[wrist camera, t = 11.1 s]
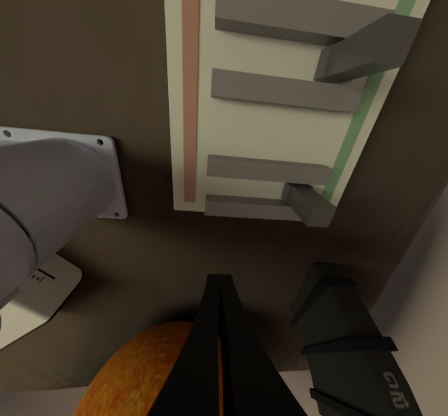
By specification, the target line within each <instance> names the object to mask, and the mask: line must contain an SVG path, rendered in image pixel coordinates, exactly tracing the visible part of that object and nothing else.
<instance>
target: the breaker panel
mask: <svg viewBox="0 0 448 416" xmlns="http://www.w3.org/2000/svg"><path fill="white" fill-rule="evenodd" d="M164 1H165V23H166V45H167V67H168V89H169V111H170V133H171V156H172V178H173V200H174V210H183V211H200V212H205V215H208V216H224V217H241V218H258V219H274V220H291V221H302V220H301V219H300V218H299V217H298V215H297V214H296V213H295V212H294V210H293V209H292V208H291V207H290V205H289V204H288V203H285V202H284V201H283V199H282V198H281V195H282V191H283V188H284V184H285V182H286V183H299V184H309V185H310V186H312V187H313V190H315V191H316V192H317V193H319V194H320V195H321V196H323V197H324V198H325V199H327V200H328V201H329V202H331V203H332V204H333V205H334V206H336V207H337V205H338V202H339V200H340V198H341V196H342V194H343V191H344V189H345V187H346V185H347V183H348V180H349V178H350V176H351V174H352V172H353V169H354V167H355V165H356V163H357V161H358V158H359V156H360V154H361V152H362V150H363V147H364V145H365V143H366V141H367V139H368V136H369V134H370V132H371V130H372V128H373V125H374V123H375V121H376V119H377V117H378V114H379V112H380V110H381V108H382V106H383V103H384V101H385V99H386V97H387V95H388V93H389V90H390V88H391V86H392V84H393V82H394V79H395V77H396V75H397V73H398V71H399V68H396V69H392V70H388V71H384V72H380V73H376V74H372V75H368V76H364V77H360V78H356V79H353V80H352V81H349V82H345V83H341V84H338V83H331V82H323V81H316V80H313V79H314V75H315V72H316V68H317V64H318V61H319V57H320V53H321V50H323V49H324V48H326V47H327V46H329V45H331V44H336V43H338V42H340V41H342V40H343V39H345V38H347V37H348V36H350V35H352V34H353V33H355V32H357V31H359V30H360V29H362V28H364V27H365V26H367V25H369V24H371V23H372V22H374V21H376V20H377V19H379V18H381V17H382V16H384V15H386V14H388V13H393V14H399V15H405V16H410V17H416V18H423V16H424V13H425V11H426V9H427V7H428V5H429V2H430V0H164Z"/></svg>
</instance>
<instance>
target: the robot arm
mask: <svg viewBox="0 0 448 416" xmlns="http://www.w3.org/2000/svg"><path fill="white" fill-rule="evenodd" d="M9 132H10V134H11V135H10V134H9ZM100 139H101V140H102V141H103V145H102V144H101V143H100V142H99V140H100ZM116 213H118V214H119V215H117V214H116ZM127 216H128V210H127V205H126V200H125V194H124V189H123V184H122V179H121V173H120V168H119V163H118V157H117V152H116V147H115V142H114V140H113V139H112V138H111V137H109V136H103V135H92V134H81V133H71V132H60V131H50V130H39V129H28V128H18V127H7V126H0V310H1V309H2V308H3V307H4V306H5V305H6V304H8V303H9V302H10V301H11V300H12V299H13V298H14V297H15V296H16V295H17V294H19V293H20V284H21V283H22V282H23V281H24V280H25V279H27V278H28V277H29V276H30V275H31V274H32V273H33V272H35V271H36V270H37V269H38V268H39V267H40V266H41V265H43V264H44V263H45V262H46V261H47V260H48V259H49V258H51V257H52V256H53V255H54V254H55V253H56V252H58V251H59V250H60V249H61V248H62V247H63V246H64V245H66V244H67V243H68V242H69V241H70V240H71V239H73V238H74V237H75V236H76V235H77V234H78V233H79V232H81V231H82V230H83V229H84V228H85V227H86V226H88V225H89V224H90V223H91V222H92V221H93V220H94V219H96V218H114V219H125V218H126V217H127ZM218 325H219V337H220V349H221V360H222V387H223V416H307V414H306V413H305V412H304V410H303V408H302V407H301V406H300V404H299V403H298V401H297V400H296V398H295V397H294V396H293V394H292V393H291V391H290V390H289V388H288V386H287V385H286V383H285V382H284V380H283V379H282V377H281V376H280V374H279V373H278V371H277V370H276V368H275V366H274V365H273V363H272V361H271V360H270V358H269V357H268V355H267V353H266V351H265V350H264V348H263V346H262V344H261V343H260V341H259V339H258V337H257V335H256V333H255V331H254V329H253V327H252V325H251V324H250V322H249V319H248V317H247V315H246V313H245V311H244V308H243V306H242V304H241V302H240V299H239V297H238V294H237V291H236V288H235V286H234V282H233V279H232V276H231V275H230V274H209V275H207V282H206V286H205V290H204V294H203V297H202V300H201V303H200V306H199V309H198V312H197V315H196V317H195V320H194V322H193V324H192V327H191V329H190V332H189V334H188V336H187V339H186V341H185V343H184V345H183V347H182V349H181V351H180V354H179V356H178V358H177V360H176V362H175V363H174V365H173V367H172V369H171V371H170V373H169V375H168V377H167V379H166V381H165V383H164V385H163V386H162V388H161V390H160V392H159V393H158V395H157V397H156V399H155V401H154V402H153V404H152V406H151V408H150V409H149V411H148V413H147V415H146V416H220V407H219V374H218ZM0 330H1V315H0Z"/></svg>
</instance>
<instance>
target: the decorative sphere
mask: <svg viewBox="0 0 448 416" xmlns="http://www.w3.org/2000/svg"><path fill="white" fill-rule="evenodd" d="M192 324H193V323H192V322H187V321H171V322H165V323H161V324H158V325H155V326H153V327H150V328H148V329H146V330H144V331H143V332H141V333H139V334H137V335H136V336H135V337H133V338H132V339H130V340H129V341H128V342H126V343H125V344H124V345H123V346H122V347H121V348H120V349H119V350H118V351H117V352H115V353H114V354H113V355H112V357H111V358H110V359H109V360H108V361H107V362H106V363H105V365H104V366H103V367H102V368H101V370H100V371H99V372H98V374H97V375H96V376H95V378H94V379H93V381H92V382H91V384H90V385H89V387H88V388H87V390H86V392H85V393H84V395H83V397H82V399H81V401H80V403H79V404H78V407H77V408H76V410H75V413H74V414H73V416H146V415H147V413H148V411H149V409H150V408H151V406H152V404H153V402H154V401H155V399H156V397H157V395H158V393H159V392H160V390H161V388H162V386H163V385H164V383H165V381H166V379H167V377H168V375H169V373H170V371H171V369H172V367H173V365H174V363H175V362H176V360H177V358H178V356H179V354H180V351H181V349H182V347H183V345H184V343H185V341H186V339H187V336H188V334H189V332H190V329H191V327H192ZM218 374H219V407H220V416H223V387H222V360H221V349H220V338H219V337H218Z"/></svg>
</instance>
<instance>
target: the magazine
mask: <svg viewBox="0 0 448 416" xmlns="http://www.w3.org/2000/svg"><path fill="white" fill-rule="evenodd" d="M356 286H357V285H356V284H355V282H354V281H353V280H352V279H351V278H344V276H343V275H342V274H341V272H340V271H339V270H338V268H337V267H336V266H335V265H334V264H327V263H314V264H313V266H312V268H311V270H310V272H309V274H308V276H307V278H306V280H305V282H304V284H303V287H302V289H301V291H300V293H299V295H298V297H297V299H296V301H295V303H294V305H293V307H292V309H291V312H292V315H293V317H294V318H293V320H292V321H291V322H292V325H293V326H297V328H298V331H299V334H300V337H301V340H302V343H303V346H304V348H303V349H300V350H301V354H302V355H306V357H307V360H308V364H309V367H310V372H311V376H312V381H313V386H314V388H310V389H309V390H310V394H311V398H313V399H315V400H316V401H317V404H318V409H319V414H320V415H322V416H423V415H422V413H421V411H420V409H419V406H418V404H417V402H416V400H415V397H414V395H413V393H412V391H411V388H410V386H409V384H408V382H407V380H406V379H405V377H404V375H403V373H402V371H401V369H400V368H399V366H398V364H397V362H396V360H395V359H394V357H393V355H392V353H391V351H398V349H397V347H396V345H395V344H394V342H393V340H392V339H391V337H383V336H382V335H381V333H380V331H379V330H378V328H377V326H376V324H375V323H374V321H373V319H372V317H371V316H370V314H369V312H368V310H367V309H366V307H365V306H364V304H363V303H362V302H361V300H360V299H359V297H358V296H357V294H356V293H355V291H354V290H353V289H354V288H355V287H356Z"/></svg>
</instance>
